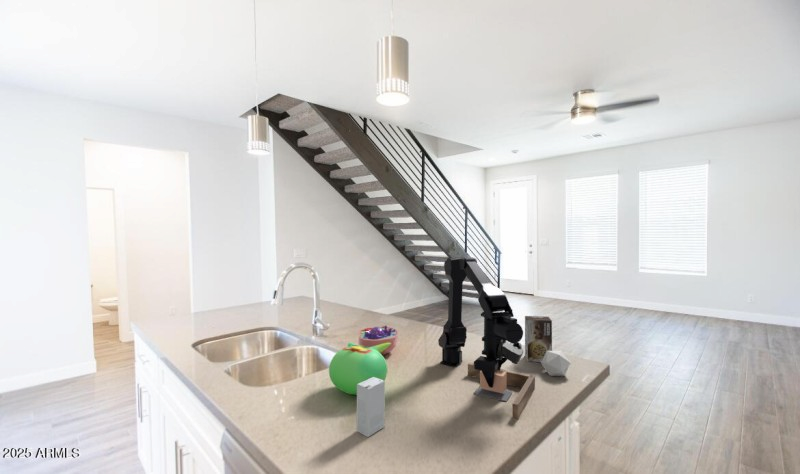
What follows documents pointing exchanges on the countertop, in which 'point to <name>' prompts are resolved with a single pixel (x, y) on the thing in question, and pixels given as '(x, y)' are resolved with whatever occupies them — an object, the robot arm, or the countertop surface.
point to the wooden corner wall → (516, 380)
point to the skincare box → (370, 406)
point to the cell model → (378, 337)
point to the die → (555, 363)
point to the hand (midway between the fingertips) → (493, 384)
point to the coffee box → (537, 337)
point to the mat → (493, 394)
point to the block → (495, 382)
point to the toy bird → (357, 366)
